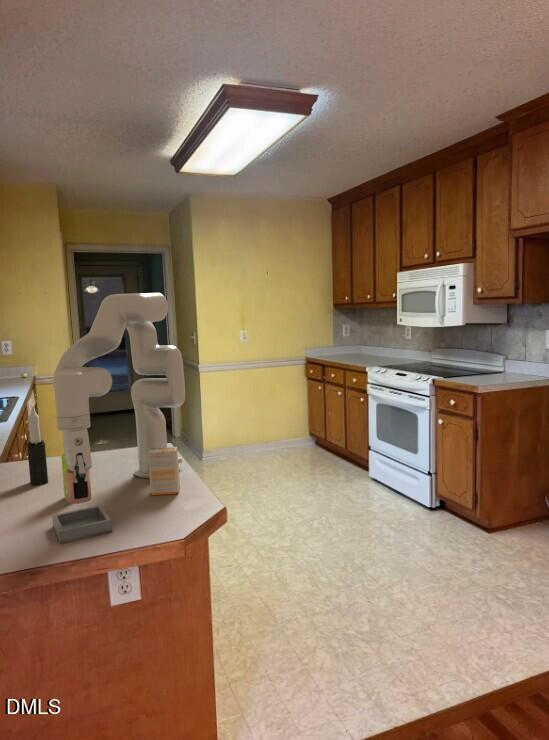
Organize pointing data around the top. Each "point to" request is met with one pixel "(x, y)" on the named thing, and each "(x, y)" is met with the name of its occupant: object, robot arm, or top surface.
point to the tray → (81, 524)
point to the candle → (36, 452)
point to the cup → (69, 487)
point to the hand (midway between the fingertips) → (79, 493)
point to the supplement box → (164, 470)
